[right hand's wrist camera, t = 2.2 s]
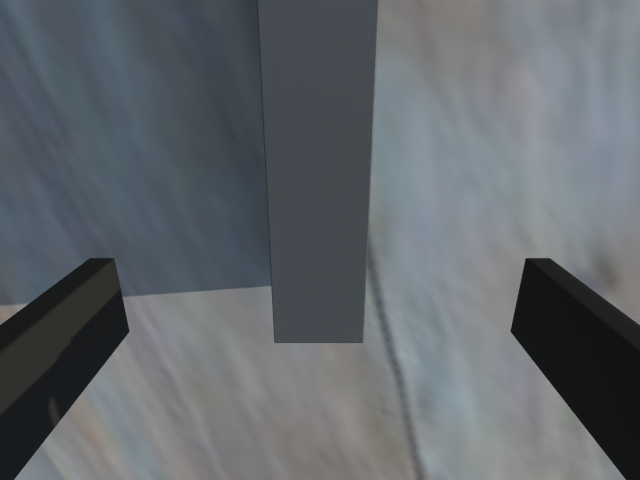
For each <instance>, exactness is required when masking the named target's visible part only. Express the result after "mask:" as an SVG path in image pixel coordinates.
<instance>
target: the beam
mask: <svg viewBox="0 0 640 480" xmlns="http://www.w3.org/2000/svg"><path fill="white" fill-rule="evenodd" d="M257 11H258V30H259V50H260V69H261V89H262V109H263V128H264V148H265V167H266V187H267V206H268V226H269V245H270V265H271V284H272V304H273V324H274V342H275V343H363V336H364V315H365V294H366V272H367V251H368V230H369V208H370V187H371V166H372V145H373V123H374V102H375V81H376V59H377V38H378V17H379V0H257Z"/></svg>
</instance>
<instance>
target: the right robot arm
mask: <svg viewBox="0 0 640 480" xmlns="http://www.w3.org/2000/svg"><path fill="white" fill-rule="evenodd" d="M128 333H129V327H128V322H127V318H126V313H125V308H124V303H123V298H122V294H121V289H120V284H119V279H118V274H117V270H116V265H115V260H114V258H90V259H89V260H87V261H86V262H85V263H83V264H82V265H81V266H79V267H78V268H76V269H75V270H74V271H72V272H71V273H70V274H68V275H67V276H66V277H64V278H63V279H62V280H60V281H59V282H58V283H56V284H55V285H54V286H52V287H51V288H50V289H48V290H47V291H46V292H44V293H43V294H42V295H40V296H39V297H38V298H36V299H35V300H34V301H32V302H31V303H29V304H28V305H27V306H25V307H24V308H23V309H21V310H20V311H19V312H17V313H16V314H15V315H13V316H12V317H11V318H9V319H8V320H7V321H5V322H4V323H3V324H1V325H0V480H14V479H15V478H16V476H17V475H18V474H19V473H20V471H21V470H22V469H23V467H24V466H25V465H26V464H27V462H28V461H29V460H30V458H31V457H32V456H33V455H34V453H35V452H36V451H37V449H38V448H39V447H40V446H41V444H42V443H43V442H44V440H45V439H46V438H47V437H48V435H49V434H50V433H51V432H52V430H53V429H54V428H55V426H56V425H57V424H58V423H59V421H60V420H61V419H62V417H63V416H64V415H65V414H66V412H67V411H68V410H69V408H70V407H71V406H72V405H73V403H74V402H75V401H76V399H77V398H78V397H79V396H80V394H81V393H82V392H83V390H84V389H85V388H86V387H87V385H88V384H89V383H90V381H91V380H92V379H93V378H94V376H95V375H96V374H97V373H98V371H99V370H100V369H101V367H102V366H103V365H104V364H105V362H106V361H107V360H108V358H109V357H110V356H111V355H112V353H113V352H114V351H115V349H116V348H117V347H118V346H119V344H120V343H121V342H122V340H123V339H124V338H125V337H126V335H127V334H128ZM511 333H512V334H513V335H514V337H515V338H516V339H517V340H518V342H519V343H520V344H521V346H522V347H523V348H524V349H525V351H526V352H527V353H528V355H529V356H530V357H531V358H532V360H533V361H534V362H535V364H536V365H537V366H538V367H539V369H540V370H541V371H542V373H543V374H544V375H545V376H546V378H547V379H548V380H549V381H550V383H551V384H552V385H553V387H554V388H555V389H556V390H557V392H558V393H559V394H560V396H561V397H562V398H563V399H564V401H565V402H566V403H567V405H568V406H569V407H570V408H571V410H572V411H573V412H574V414H575V415H576V416H577V417H578V419H579V420H580V421H581V423H582V424H583V425H584V426H585V428H586V429H587V430H588V432H589V433H590V434H591V435H592V437H593V438H594V439H595V440H596V442H597V443H598V444H599V446H600V447H601V448H602V449H603V451H604V452H605V453H606V455H607V456H608V457H609V458H610V460H611V461H612V462H613V464H614V465H615V466H616V467H617V469H618V470H619V471H620V473H621V474H622V475H623V476H624V478H625V479H626V480H640V325H639V324H637V323H636V322H635V321H633V320H632V319H631V318H629V317H628V316H627V315H625V314H624V313H623V312H621V311H620V310H619V309H617V308H616V307H615V306H613V305H612V304H611V303H609V302H608V301H606V300H605V299H604V298H602V297H601V296H600V295H598V294H597V293H596V292H594V291H593V290H592V289H590V288H589V287H588V286H586V285H585V284H584V283H582V282H581V281H580V280H578V279H577V278H576V277H574V276H573V275H572V274H570V273H569V272H568V271H566V270H565V269H564V268H562V267H561V266H559V265H558V264H557V263H555V262H554V261H553V260H551V259H550V258H526V260H525V265H524V270H523V274H522V279H521V284H520V289H519V294H518V298H517V303H516V308H515V313H514V318H513V322H512V327H511Z"/></svg>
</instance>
